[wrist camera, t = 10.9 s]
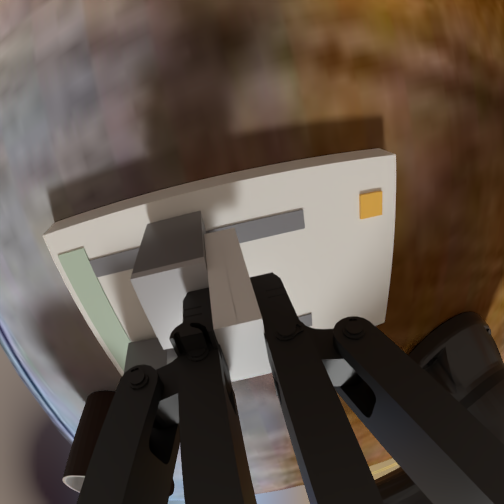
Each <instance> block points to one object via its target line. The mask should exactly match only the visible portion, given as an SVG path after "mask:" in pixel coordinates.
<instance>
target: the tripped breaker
mask: <svg viewBox="0 0 504 504" xmlns="http://www.w3.org/2000/svg"><path fill="white" fill-rule="evenodd" d="M204 234H207V233H206V229H205V225H204V221H203V218H202V214H201V211H196V212H192V213H188V214H184V215H180V216H176V217H172V218H168V219H164V220H160V221H157V222H153V223H149V224H147V226H146V229H145V232H144V235H143V238H142V241H141V245H140V248H139V251H138V254H137V257H136V261H135V264H134V268H133V271H132V274H131V278H130V280H131V283H132V285H133V287H134V290H135V292H136V294H137V296H138V298H139V301H140V303H141V305H142V307H143V309H144V311H145V313H146V315H147V318H148V320H149V322H150V324H151V326H152V328H153V330H154V332H155V334H156V336H157V338H158V340H159V342H160V344H161V346H162V347H163V349H164V350H165V349H170V348H173V346H172V344H171V342H170V340H169V338H170V334H171V332H172V331H173V330H174V329H175V327H177V326H178V325H180V324H181V323H183V300H184V298H185V296H186V294H187V293H188V292H190V291H195V290H200V289H204V288H209V283H208V272H207V262H206V251H205V239H204Z"/></svg>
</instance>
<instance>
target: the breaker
mask: <svg viewBox="0 0 504 504" xmlns="http://www.w3.org/2000/svg"><path fill="white" fill-rule="evenodd" d="M176 358H177V354H176V352H175V350H174V348H170V349H165V350H164V349H163V347H162V346H161V344H160V342H159V340H158V338H152V339H147V340H141V341H135V342H130V343H128V349H127V355H126V361H125V368H124V373H125V372H126V371H127V370H129V369H130V368H132V367H134V366H136V365H143V364H145V365H149V366H152V367H153V368H154V369H155V370H156V369H159V368H161V367H163V366H165V365H167V364H169V363H171V362H172V361H174V360H175V359H176ZM123 375H124V374H123Z"/></svg>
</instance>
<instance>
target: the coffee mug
mask: <svg viewBox="0 0 504 504" xmlns="http://www.w3.org/2000/svg"><path fill="white" fill-rule="evenodd" d="M114 395H115V392H113V391H98V392H94V393H92V394H90V395H89V396H88V398H87V401H86V404H85V407H84V410H83V413H82V416H81V419H80V422H79V425H78V428H77V431H76V434H75V437H74V440H73V444H72V447H71V450H70V454H69V458H68V461H67V465H66V469H65V472H64V476H63V482H64V483H65V484H66V485H67V486H68V487H70V488H72V489H73V490H75V491H77V492H79V493H80V491H81V488H82V485H83V481H84V478H85V475H86V472H87V469H88V466H89V463H90V460H91V457H92V454H93V451H94V448H95V446H96V443H97V440H98V437H99V434H100V432H101V429H102V426H103V423H104V421H105V418H106V415H107V413H108V410H109V408H110V405H111V402H112V400H113V397H114ZM173 492H174V481H173V479H172V483H171V488H170V493H169V496H170V495H172V494H173Z"/></svg>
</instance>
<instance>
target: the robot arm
mask: <svg viewBox="0 0 504 504" xmlns="http://www.w3.org/2000/svg"><path fill="white" fill-rule="evenodd" d="M204 239H205V251H206V262H207V272H208V283H209V288H204V289H200V290H195V291H190V292H188V293H187V294H186V296H185V298H184V300H183V323H181V324H180V325H178V326H177V327H175V329H174V330H173V331H172V332H171V334H170V338H169V340H170V342H171V344H172V346H173V348H174V350H175V352H176V354H177V358H176V359H175V360H174V361H172V362H171V363H169V364H167V365H165V366H163V367H161V368H159V369H156V370H155V369H154V368H153V367H152V366H149V365H145V364H143V365H136V366H134V367H132V368H130V369H129V370H127V371H126V372H125V373H124V375H123V376H122V378H121V380H120V382H119V385H118V387H117V390H116V392H115V395H114V397H113V400H112V402H111V405H110V408H109V410H108V413H107V415H106V418H105V421H104V423H103V426H102V429H101V432H100V434H99V437H98V440H97V443H96V446H95V448H94V451H93V454H92V457H91V460H90V463H89V466H88V469H87V472H86V475H85V478H84V481H83V485H82V488H81V491H80V495H79V498H78V501H77V504H168V499H169V493H170V488H171V483H172V479H173V474H174V469H175V464H176V459H177V454H178V450H179V445H180V447H181V462H182V475H183V486H184V497H185V504H257V503H256V499H255V494H254V489H253V485H252V480H251V475H250V471H249V466H248V461H247V456H246V451H245V446H244V441H243V436H242V431H241V426H240V421H239V415H238V410H237V405H236V399H235V394H234V391H233V389H232V385H231V381H237V380H242V379H247V378H251V377H255V376H260V375H264V374H268V373H272V374H273V378H274V384H275V389H276V394H277V396H278V398H279V401H280V405H281V408H282V412H283V415H284V418H285V422H286V425H287V429H288V432H289V435H290V439H291V442H292V445H293V449H294V452H295V455H296V459H297V462H298V465H299V469H300V472H301V475H302V479H303V482H304V485H305V488H306V492H307V495H308V498H309V501H310V504H504V363H503V361H502V358H501V355H500V353H499V350H498V348H497V345H496V343H495V341H494V339H493V337H492V336H491V330H490V328H489V326H488V324H487V323H486V322H485V321H484V320H483V319H482V318H481V317H480V316H479V315H478V314H477V313H475V312H466V313H463V314H460V315H458V316H455V317H453V318H452V319H450V320H448V321H447V322H445V323H444V324H442V325H441V326H439V327H438V328H437V329H435V330H434V331H433V332H432V333H430V334H429V335H428V336H427V337H426V338H425V339H424V340H423V341H422V342H421V343H420V344H419V345H418V346H417V347H416V348H415V349H414V350H413V351H412V352H411V353H410V354H409V356H408V355H407V354H406V353H405V352H404V351H403V350H401V349H400V348H399V347H398V346H397V345H396V344H395V343H394V342H393V341H391V340H390V339H389V338H388V337H387V336H386V335H385V334H384V333H382V332H381V331H380V330H379V329H378V328H377V327H376V326H374V325H373V324H372V323H371V322H370V321H368V320H366V319H365V318H362V317H358V316H351V317H346V318H343V319H341V320H340V321H338V322H337V323H336V325H335V326H334V328H333V329H315V328H311V327H308V326H306V325H305V324H304V323H303V322H301V321H300V320H299V318H298V316H297V314H296V312H295V309H294V307H293V305H292V303H291V301H290V298H289V296H288V294H287V292H286V289H285V288H284V285H283V283H282V281H281V278H280V277H278V276H277V275H275V274H274V273H273V272H271V273H267V274H263V275H258V276H254V277H249V274H248V270H247V267H246V264H245V261H244V257H243V254H242V251H241V247H240V244H239V241H238V237H237V234H236V231H235V227H234V228H230V229H225V230H221V231H216V232H212V233H207V234H204ZM230 378H231V379H230ZM335 390H336V391H337V393H338V394H339V395H340V396H341V397H342V399H343V400H344V401H345V402H346V403H347V405H348V406H349V407H350V408H351V409H352V411H353V412H354V413H355V414H356V415H357V416H358V418H359V419H360V420H361V421H362V422H363V424H364V425H365V426H366V427H367V428H368V429H369V431H370V432H371V433H372V434H373V435H374V437H375V438H376V439H377V440H378V441H379V442H380V444H381V445H382V446H383V447H384V448H385V449H386V450H387V452H388V453H389V454H390V455H391V456H392V457H393V459H394V460H395V461H396V462H397V463H398V464H399V465H400V467H399V468H398V469H396V470H394V471H392V472H390V473H388V474H386V475H384V476H382V477H380V478H378V479H376V480H374V479H373V476H372V474H371V471H370V469H369V467H368V464H367V462H366V459H365V457H364V455H363V452H362V450H361V448H360V446H359V443H358V441H357V439H356V436H355V434H354V432H353V429H352V427H351V425H350V422H349V420H348V418H347V416H346V413H345V411H344V409H343V406H342V404H341V402H340V400H339V397H338V395H337V393H336V391H335Z"/></svg>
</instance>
